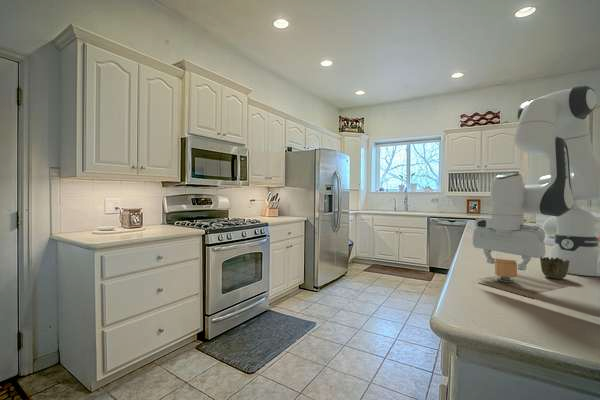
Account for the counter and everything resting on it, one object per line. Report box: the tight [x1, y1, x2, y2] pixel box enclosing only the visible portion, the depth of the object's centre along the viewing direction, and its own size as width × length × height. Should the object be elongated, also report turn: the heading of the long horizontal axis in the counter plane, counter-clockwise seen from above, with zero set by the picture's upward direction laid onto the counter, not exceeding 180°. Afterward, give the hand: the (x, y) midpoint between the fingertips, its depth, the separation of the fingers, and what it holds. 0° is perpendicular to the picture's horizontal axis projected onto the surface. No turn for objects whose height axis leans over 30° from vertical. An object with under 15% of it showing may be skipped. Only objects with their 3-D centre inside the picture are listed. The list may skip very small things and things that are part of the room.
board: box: [477, 273, 571, 300], centre depth 91 cm, size 20×16×2 cm
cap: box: [494, 257, 518, 277], centre depth 92 cm, size 5×5×5 cm
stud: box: [497, 276, 514, 283], centre depth 92 cm, size 4×4×6 cm
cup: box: [539, 256, 569, 280], centre depth 97 cm, size 8×7×8 cm
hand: (505, 266), depth 92 cm, fingers open, 8 cm apart
